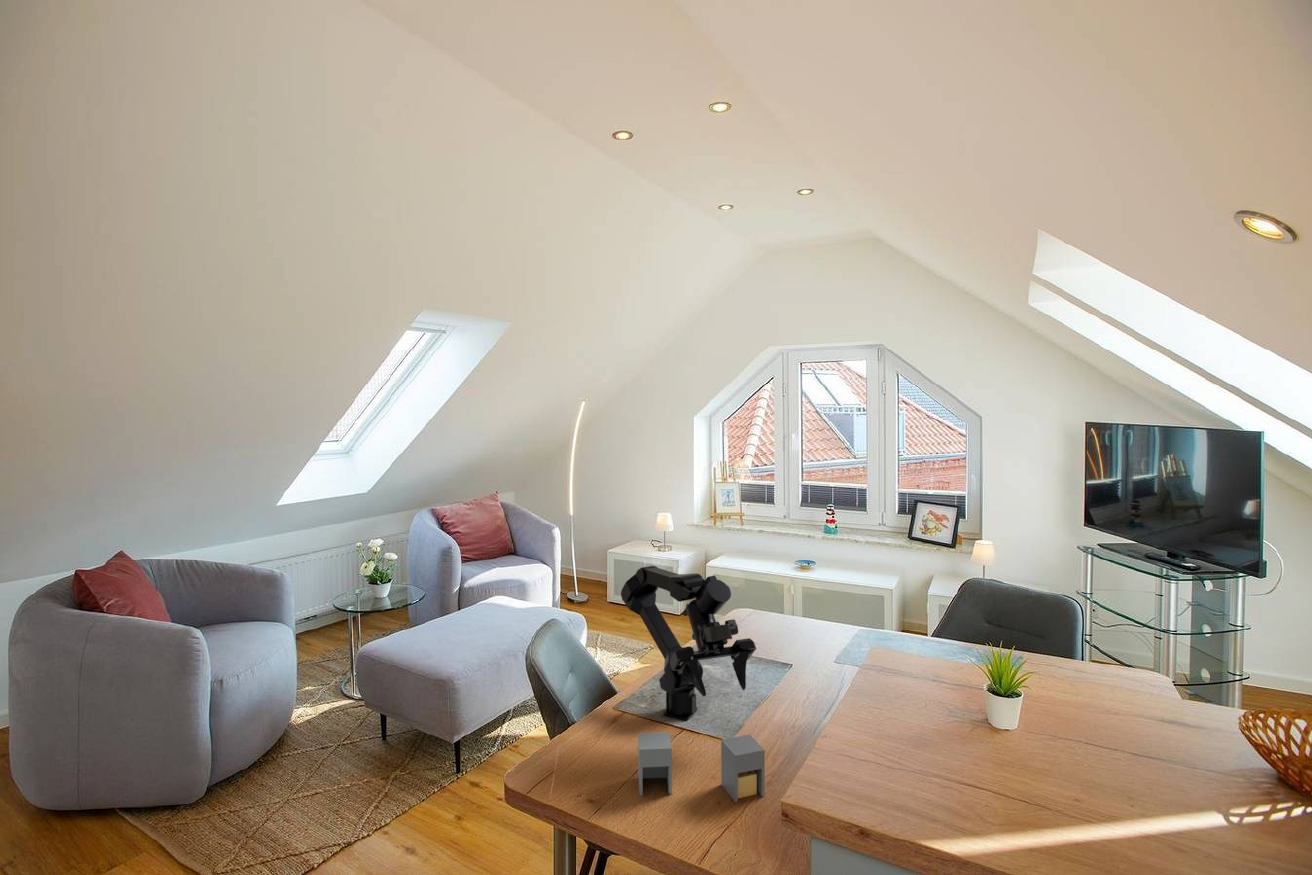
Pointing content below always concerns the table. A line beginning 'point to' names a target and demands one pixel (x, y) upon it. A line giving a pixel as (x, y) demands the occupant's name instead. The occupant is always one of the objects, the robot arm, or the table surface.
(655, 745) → the slate cover
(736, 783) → the charcoal cover
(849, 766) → the table surface
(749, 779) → the ochre cube
